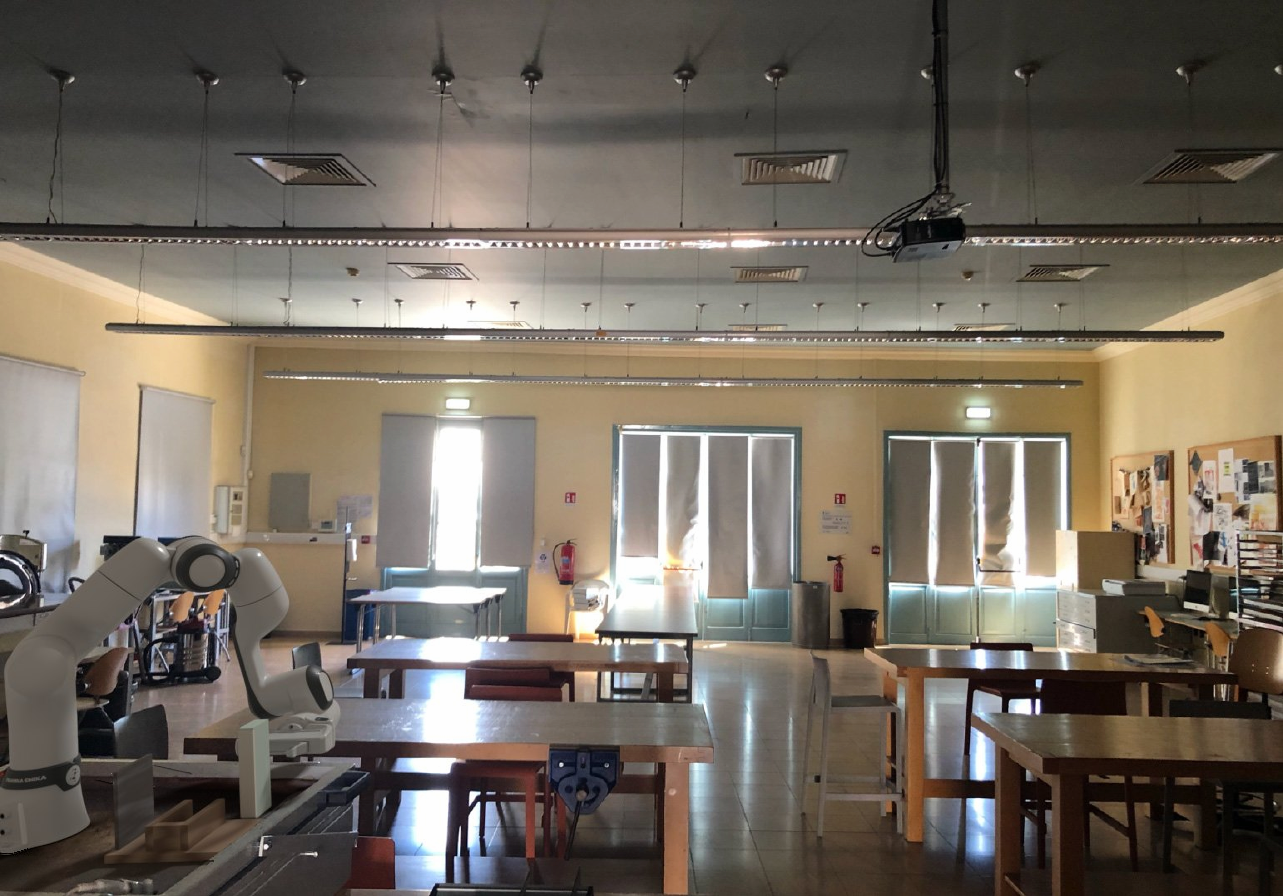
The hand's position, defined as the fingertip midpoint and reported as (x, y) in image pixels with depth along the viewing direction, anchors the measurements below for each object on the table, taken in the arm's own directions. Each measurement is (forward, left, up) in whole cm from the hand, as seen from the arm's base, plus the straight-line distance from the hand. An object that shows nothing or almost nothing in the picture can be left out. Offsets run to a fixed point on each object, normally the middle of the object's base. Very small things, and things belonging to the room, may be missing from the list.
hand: (267, 754), depth 173 cm
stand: (-6, -20, -10) cm, 23 cm away
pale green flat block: (0, -6, -10) cm, 11 cm away
